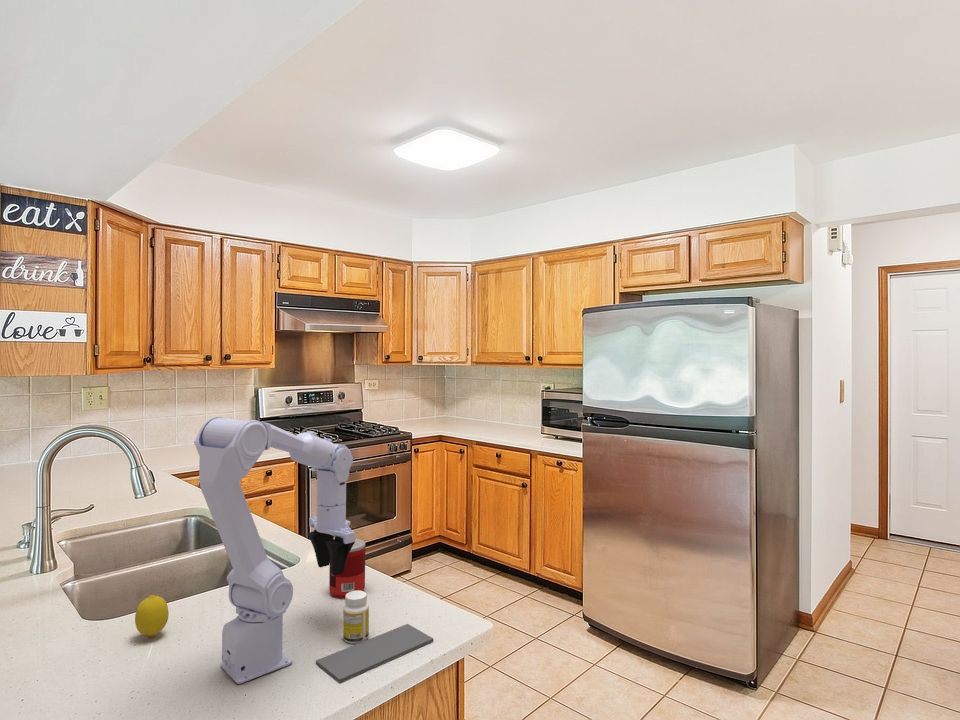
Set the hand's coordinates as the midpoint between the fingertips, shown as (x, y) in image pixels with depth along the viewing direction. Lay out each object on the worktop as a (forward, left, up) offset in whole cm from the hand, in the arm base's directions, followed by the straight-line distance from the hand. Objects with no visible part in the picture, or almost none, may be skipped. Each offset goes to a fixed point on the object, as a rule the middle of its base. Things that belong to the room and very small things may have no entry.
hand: (330, 569), depth 117 cm
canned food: (+10, +10, -11) cm, 18 cm away
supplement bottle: (0, -10, -11) cm, 14 cm away
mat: (0, -17, -10) cm, 20 cm away
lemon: (-28, +17, -11) cm, 34 cm away
